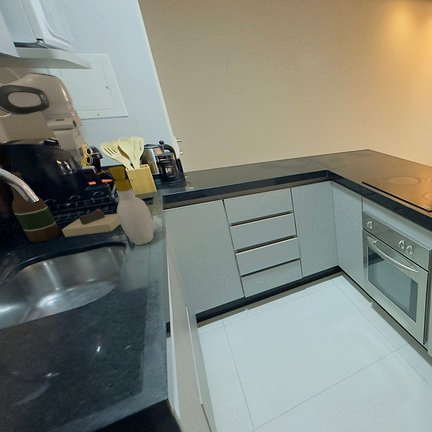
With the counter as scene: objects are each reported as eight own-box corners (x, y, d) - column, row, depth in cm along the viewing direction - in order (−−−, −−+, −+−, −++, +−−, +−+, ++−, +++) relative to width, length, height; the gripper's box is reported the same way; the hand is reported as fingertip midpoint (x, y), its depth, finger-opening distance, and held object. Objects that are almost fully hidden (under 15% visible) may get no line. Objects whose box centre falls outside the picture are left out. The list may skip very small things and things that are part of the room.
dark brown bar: (84, 224, 109) (81, 216, 107) (82, 224, 109) (78, 216, 108) (105, 217, 115) (101, 209, 113) (102, 216, 115) (98, 209, 114)
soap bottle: (128, 236, 106) (99, 165, 96) (159, 229, 111) (134, 161, 100) (123, 252, 95) (90, 174, 85) (157, 245, 100) (129, 170, 89)
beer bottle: (28, 239, 105) (-9, 174, 96) (58, 230, 111) (26, 168, 102) (33, 244, 101) (-6, 177, 92) (64, 235, 107) (31, 171, 97)
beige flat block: (65, 237, 106) (61, 229, 105) (83, 224, 116) (79, 217, 115) (111, 231, 110) (108, 223, 109) (125, 219, 120) (122, 212, 119)
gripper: (58, 120, 114) (74, 156, 120) (45, 125, 99) (64, 165, 105) (80, 119, 117) (94, 154, 123) (71, 123, 102) (88, 162, 108)
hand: (80, 159), depth 114 cm, fingers open, 6 cm apart
